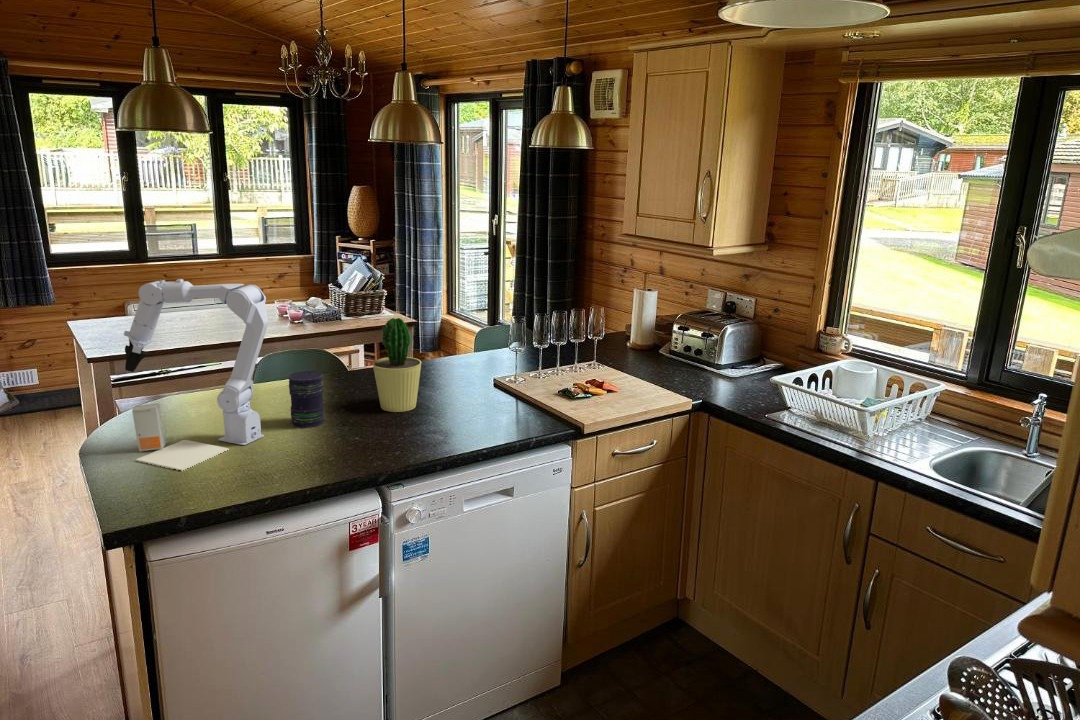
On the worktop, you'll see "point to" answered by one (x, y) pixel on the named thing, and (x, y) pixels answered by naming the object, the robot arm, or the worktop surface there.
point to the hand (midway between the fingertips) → (130, 364)
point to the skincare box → (149, 427)
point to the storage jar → (306, 399)
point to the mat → (182, 455)
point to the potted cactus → (397, 370)
